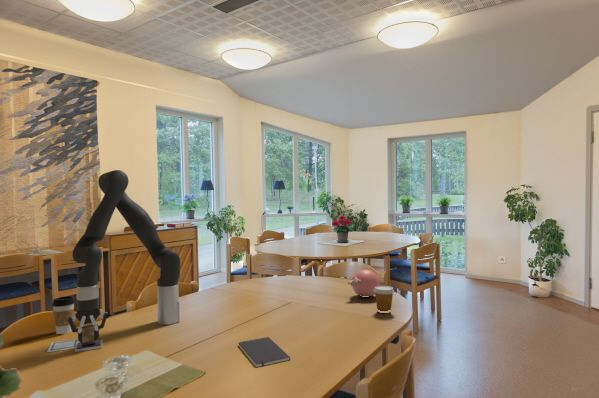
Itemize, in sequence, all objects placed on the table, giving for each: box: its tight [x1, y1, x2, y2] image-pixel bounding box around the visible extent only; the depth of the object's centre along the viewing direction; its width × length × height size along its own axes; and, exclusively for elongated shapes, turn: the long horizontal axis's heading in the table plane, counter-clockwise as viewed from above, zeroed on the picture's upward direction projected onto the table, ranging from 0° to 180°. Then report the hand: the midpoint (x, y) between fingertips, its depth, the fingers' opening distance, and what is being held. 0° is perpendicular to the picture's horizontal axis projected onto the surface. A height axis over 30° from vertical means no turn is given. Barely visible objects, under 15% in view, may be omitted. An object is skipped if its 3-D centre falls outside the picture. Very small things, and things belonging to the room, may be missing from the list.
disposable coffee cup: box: [374, 285, 395, 311], centre depth 187 cm, size 10×10×12 cm
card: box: [46, 338, 80, 354], centre depth 150 cm, size 10×10×1 cm
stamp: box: [82, 323, 95, 345], centre depth 148 cm, size 4×4×6 cm
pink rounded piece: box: [347, 269, 381, 297], centre depth 213 cm, size 15×20×15 cm
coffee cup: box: [51, 295, 76, 335], centre depth 164 cm, size 8×8×15 cm
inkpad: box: [74, 339, 104, 353], centre depth 148 cm, size 9×6×1 cm
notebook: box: [238, 336, 291, 367], centre depth 142 cm, size 13×2×21 cm
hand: (88, 340), depth 148 cm, fingers closed on stamp, 4 cm apart
